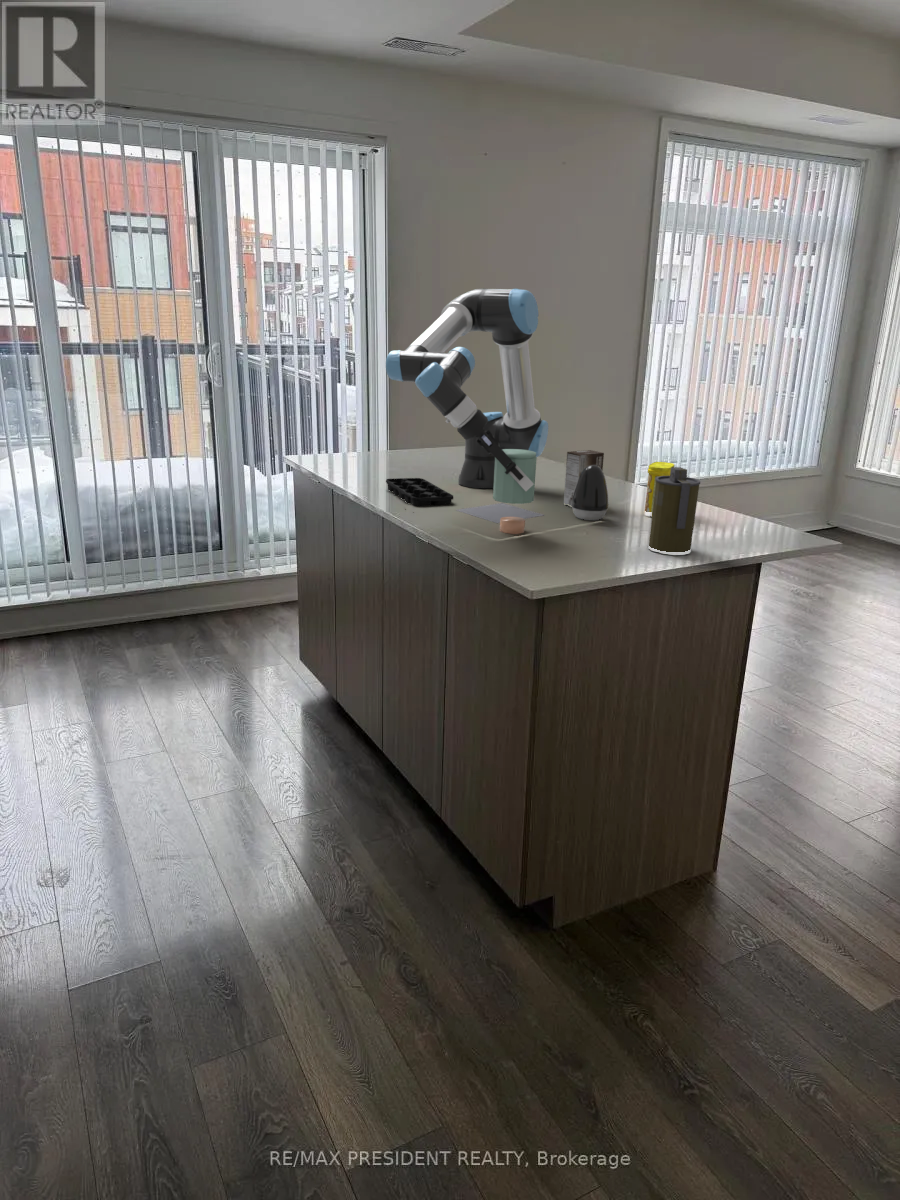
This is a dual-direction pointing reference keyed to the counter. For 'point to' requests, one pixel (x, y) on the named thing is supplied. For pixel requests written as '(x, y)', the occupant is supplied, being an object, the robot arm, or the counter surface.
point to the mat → (499, 512)
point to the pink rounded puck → (512, 525)
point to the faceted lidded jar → (507, 485)
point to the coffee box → (579, 469)
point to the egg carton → (419, 491)
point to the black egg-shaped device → (590, 494)
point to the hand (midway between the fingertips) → (526, 483)
